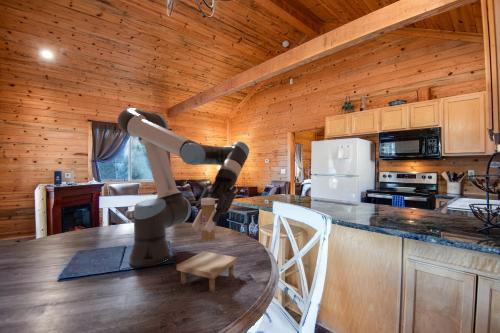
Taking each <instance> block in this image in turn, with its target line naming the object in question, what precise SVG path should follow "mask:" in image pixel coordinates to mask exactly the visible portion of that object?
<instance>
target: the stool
mask: <svg viewBox="0 0 500 333" xmlns="http://www.w3.org/2000/svg"><path fill="white" fill-rule="evenodd" d="M236 263H238V257H237V256H232V255H231V256H230V255H227V254H226V255H225V254H220V253H215V252H210V251H204V250H203V251H201V252H200V253H198V254H196V255H194V256H191V257H190V258H188V259H186V260H184V261H182V262H180V263H177V264H176V271H179V272H180V284H181V285H185V284H187V274H190V275H196V276H199V277H203V278H208V284H209V286H208V287H209V288H208V289H209V292H210V293H214V292H215V291H216V284H215V283H216V278H217V277H218V276H220V275H221V274H223V273H224V272H225V271H227V270H228V277H229V278H233V277H234V274H235V273H234V271H235V270H234V265H235V264H236Z"/></svg>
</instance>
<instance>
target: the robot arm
mask: <svg viewBox="0 0 500 333" xmlns="http://www.w3.org/2000/svg"><path fill="white" fill-rule="evenodd" d="M117 126H118V128H119V129H120V130H121V131H122V132H123V133H125V134H127V135H128V136H130V137H133V138H138V141H139V143H140V145H142V146H144V149H145V153H146V156H147V160H148V164H149V167H150V171H151V176H152V178H153V182H154V185H155V189H156V192H157V196H156V198H150V199H145V200H141V201H140V202H137V203H136V204H135V205H134V209H133V211H134V212H133V230H134V231H133V232H134V233H133V236H134V238H133V245H132V248H131V252H130V253H129V254H130V255H129V259H128V260H129V262H130V263H131V264H132V265H131V264H130V263H129V264H130V265H131V266H133V265H135V266H134V267H138V266H142V268H143V267H146V266H147V267H153V266H156V265H155V264H158V263H161V262H163V261H165V260H167V259H169V258H170V259H171V250H170V247H169V245H168V240H167V237H166V236H167V235H166V232H167V231H166V230H167V229H169V228H173V227H175V226H178V225H181V224H183V223H185V222H186V221H188V219H189V218H190V216H191V213H192V205H191V202H190V201H189V200H188V199H187V198H186V197H184V195H183V193H182V191H180V190H179V189H178V187H177V184H176V180H175V178H174V174H173V171H172V166H171V163H170V160H169V156H168V153H171V154H173V155H175V156H177V157H179V158H181V160H182V161H183V162H184V164H187V165H191V166H197V165H198V166H200V165H202V166H203V165H205V166H206V165H209V166H210V165H211V166H213V165H214V166H220V167H219V170H218V171H217V174H216V175H215V178H214V181H213V183H212V184H211V185H208V184H205V185H204V187H203V191H202V193H201V195H200V196H199V199H198V201H197V202H196V204H195V208H196V209H197V213H196V214H195V216H194V218H195V219H194V221H193V222H192V225H191V227H192V228H193V229H194V230H195V231H196V232H197V231H199V229H200V227H201V220H202V206H201V199H202V198H214V199H215V200H216V199H217V198H218V199H217V203H216V206H215V210H213V212H212V214H211V216H210V218H209V220H208V222H207V224H206V226H205V229H206V230H207V231H208V232H209V233H210V232H211V230H212V228H213V226H214V224H215V225H216V223H218V221H219V218H221V217H220V216H222V214H225V215H226V214H228V212H229V211H230V210H229V209H230V208H231V206H232V204H233V201H234V199H235V198H236V196H237V194H239V189H238V188H237V186H236V183H237V181H238V179H239V177H240V174H241V172H242V169H243V166H244V165H245V163H246V161H247V160H248V157H249V154H250V148H249V146H248V145H247V144H246V143H245V142H243V141H235V142H234V143H233V144H232V145H231V146H216V145H207V144H201V143H198V142H196V141H193V140H191V139H189V138H187V137H185V136H183V135H181V134H179V133H176V132H173V131H171V130H170V129H168V123H167V121H166V119H165V118H164V117H163V116H162V115H160V114H158V113H155V112H149V111H146V110H142V109H138V108H133V107H130V108H125V109H123V110H122V111H121V112H120V113H119V114H118V116H117ZM170 259H169V260H170ZM161 264H162V263H161ZM158 265H159V264H158ZM147 267H146V268H147Z"/></svg>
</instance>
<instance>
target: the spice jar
mask: <svg viewBox="0 0 500 333" xmlns="http://www.w3.org/2000/svg"><path fill="white" fill-rule="evenodd" d="M215 204H216V198H215V199H214V198H202V199H201V206H202V220H201V225H200V227H201V229H200V230H201V241H204V242H210V241H213V240H215V239H216V234H215V233H216V230H215V229H216V228H215V227H216V223H215V224H214V226H213V228H212V230H211V232H210V233H209V232H208V231H207V230H206V229H205V226H206V224H207V222H208V220H209V218H210V216H211V214H212V212H213V210H215V211H216V209H215V208H216V205H215Z"/></svg>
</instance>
